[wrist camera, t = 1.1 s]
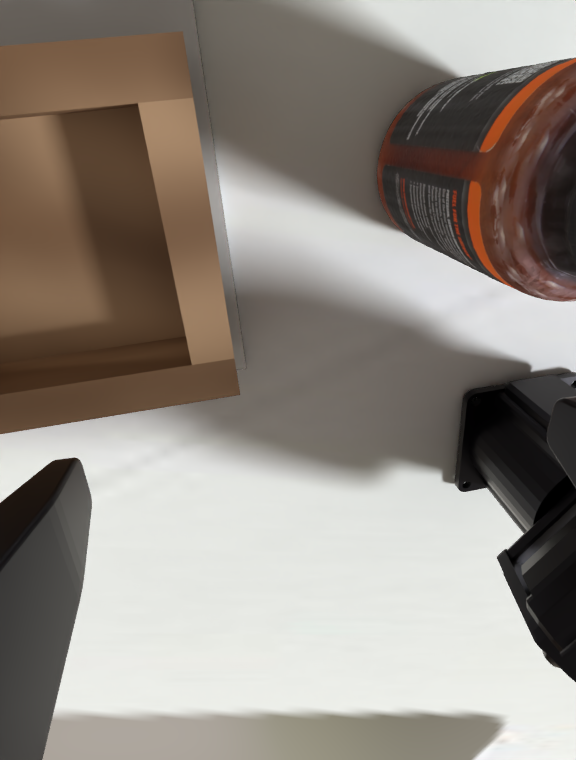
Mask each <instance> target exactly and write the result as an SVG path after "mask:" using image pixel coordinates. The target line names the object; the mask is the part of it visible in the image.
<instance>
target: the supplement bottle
mask: <svg viewBox="0 0 576 760" xmlns="http://www.w3.org/2000/svg"><path fill="white" fill-rule="evenodd" d="M377 183H378V190H379V195H380V198H381V201H382V204H383V206H384V209H385V211H386V212H387V214H388V216H389V218H390V219H391V221H392V222H393V223H394V224H395V225H396V226H397V227H398V228H399V229H400V230H401V231H402V232H404V233H405V234H407V235H408V236H409V237H411V238H412V239H414V240H416V241H418V242H420V243H422V244H424V245H426V246H428V247H430V248H432V249H434V250H436V251H438V252H440V253H443V254H445V255H447V256H449V257H451V258H452V259H455V260H457V261H459V262H461V263H463V264H465V265H467V266H469V267H471V268H472V269H475V270H477V271H479V272H481V273H483V274H485V275H487V276H489V277H490V278H492V279H495V280H497V281H499V282H501V283H503V284H505V285H508V286H510V287H513V288H515V289H517V290H519V291H521V292H523V293H525V294H528V295H531V296H534V297H537V298H541V299H545V300H553V301H576V58H569V59H564V60H559V61H551V62H547V63H541V64H536V65H530V66H524V67H518V68H512V69H507V70H501V71H496V72H487V73H484V74H479V75H472V76H468V77H460V78H456V79H452V80H449V81H446V82H442V83H439V84H437V85H434V86H432V87H430V88H428V89H426V90H424V91H423V92H421V93H419V94H418V95H417V96H416V97H415V98H413V99H412V100H411V101H410V102H408V103H407V104H406V105H405V107H404V108H403V109H402V110H401V111H400V112H399V113H398V115H397V116H396V118H395V119H394V120H393V122H392V124H391V125H390V127H389V129H388V131H387V133H386V136H385V138H384V141H383V144H382V147H381V150H380V155H379V159H378V167H377Z"/></svg>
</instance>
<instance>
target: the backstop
mask: <svg viewBox="0 0 576 760" xmlns="http://www.w3.org/2000/svg"><path fill="white" fill-rule="evenodd" d="M180 31H183V36H184V42H185V48H186V55H187V61H188V67H189V74H190V80H191V86H192V93H193V99H194V105H195V112H196V118H197V124H198V131H199V137H200V143H201V150H202V156H203V162H204V169H205V175H206V181H207V188H208V194H209V200H210V207H211V213H212V219H213V226H214V232H215V238H216V245H217V251H218V257H219V264H220V270H221V276H222V283H223V289H224V295H225V302H226V308H227V314H228V321H229V327H230V333H231V340H232V346H233V352H234V359H235V365H236V370H241V369H246V362H245V355H244V348H243V341H242V335H241V328H240V321H239V314H238V307H237V300H236V293H235V287H234V280H233V273H232V266H231V259H230V252H229V246H228V239H227V232H226V225H225V218H224V211H223V205H222V198H221V191H220V184H219V177H218V170H217V163H216V157H215V150H214V143H213V136H212V129H211V122H210V116H209V109H208V102H207V95H206V88H205V81H204V75H203V68H202V61H201V54H200V47H199V40H198V34H197V27H196V20H195V13H194V6H193V0H0V46H6V45H19V44H31V43H44V42H56V41H68V40H81V39H93V38H105V37H118V36H130V35H143V34H155V33H167V32H180Z"/></svg>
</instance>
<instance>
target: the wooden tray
mask: <svg viewBox="0 0 576 760" xmlns="http://www.w3.org/2000/svg"><path fill="white" fill-rule="evenodd" d="M236 395H240V390H239V384H238V378H237V371H236V365H235V359H234V352H233V346H232V340H231V333H230V327H229V321H228V314H227V308H226V302H225V295H224V289H223V283H222V276H221V270H220V264H219V257H218V251H217V245H216V238H215V232H214V226H213V219H212V213H211V207H210V200H209V194H208V188H207V181H206V175H205V169H204V162H203V156H202V150H201V143H200V137H199V131H198V124H197V118H196V112H195V105H194V99H193V93H192V86H191V80H190V74H189V67H188V61H187V55H186V48H185V42H184V36H183V31H180V32H167V33H155V34H143V35H130V36H118V37H105V38H93V39H81V40H68V41H56V42H44V43H31V44H19V45H6V46H0V434H5V433H11V432H17V431H23V430H29V429H35V428H41V427H47V426H53V425H59V424H65V423H71V422H78V421H84V420H90V419H96V418H102V417H108V416H114V415H120V414H126V413H132V412H138V411H145V410H151V409H157V408H163V407H169V406H175V405H181V404H187V403H193V402H199V401H205V400H212V399H218V398H224V397H230V396H236Z"/></svg>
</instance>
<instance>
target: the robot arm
mask: <svg viewBox="0 0 576 760" xmlns="http://www.w3.org/2000/svg"><path fill="white" fill-rule="evenodd" d="M573 381H574V382H573ZM572 382H573V383H572ZM476 397H477V398H476ZM474 398H476V400H475V401H473V402H472V400H473V399H474ZM465 482H466V483H465ZM463 483H464V484H463ZM455 485H456V486H457V488H458V489H459V490H460V491H462V492H467V491H472V490H477V489H482V488H488V490H489V491H490V492H491V493H492V495H493V496H494V497H495V498H496V500H497V501H498V502H499V503H500V505H501V506H502V507H503V508H504V509H505V511H506V512H507V513H508V514H509V516H510V517H511V518H512V519H513V521H514V522H515V523H516V524H517V526H518V527H519V528H520V529H521V531H522V532H523V533H524V534H523V535H522V536H521V537H520V538H519V539H518V540H517V541H516V542H515V543H514V544H513V545H512V546H511V547H510V548H509V549H508V550H507V549H505V550H504V551H502V552H501V553H500V554H499V555H498V556H497V559H498V561H499V563H500V566H501V568H502V570H503V572H504V573H503V574H504V576H505V578H506V581H507V583H508V585H509V587H510V589H511V591H512V594H513V596H514V598H515V600H516V602H517V604H518V607H519V609H520V611H521V613H522V615H523V617H524V619H525V622H526V624H527V626H528V628H529V630H530V632H531V635H532V637H533V639H534V641H535V642H536V644H537V645H538V646H539V647H540V648H541V649H542V650H543V654H544V656H545V658H546V659H547V660H548V662H549V663H550V664H552V665H553V666H554V667H558V668H561V669H562V670H563V671H564V672H565V673H566V674H567V675H568V676H569V677H570V678H572V679H573V680H574V681H575V682H576V373H575V372H571V373H566V374H560V375H547V376H541V377H535V378H530V379H524V380H518V381H512V382H509V383H507V384H502V385H496V386H490V387H484V388H478V389H473V390H470V391H468V392H467V393H466V394H465V395H464V398H463V405H462V415H461V425H460V435H459V445H458V455H457V465H456V475H455ZM91 509H92V500H91V494H90V490H89V487H88V483H87V480H86V476H85V473H84V469H83V466H82V463H81V462H80V460H79V459H77V458H68V459H60V460H54V461H52V462H51V463H49V464H48V465H47V466H46V467H44V468H43V469H42V470H41V471H39V472H38V473H37V474H36V475H34V476H33V477H32V478H31V479H29V480H28V481H27V482H26V483H24V484H23V485H22V486H21V487H19V488H18V489H17V490H16V491H14V492H13V493H12V494H11V495H9V496H8V497H7V498H6V499H4V500H3V501H2V502H1V503H0V760H42V758H43V754H44V750H45V746H46V742H47V737H48V733H49V729H50V724H51V721H52V716H53V712H54V708H55V704H56V699H57V695H58V691H59V687H60V682H61V678H62V674H63V670H64V666H65V661H66V657H67V653H68V649H69V644H70V640H71V636H72V632H73V628H74V623H75V619H76V615H77V611H78V606H79V602H80V597H81V592H82V588H83V580H84V572H85V563H86V554H87V545H88V536H89V527H90V518H91Z"/></svg>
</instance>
